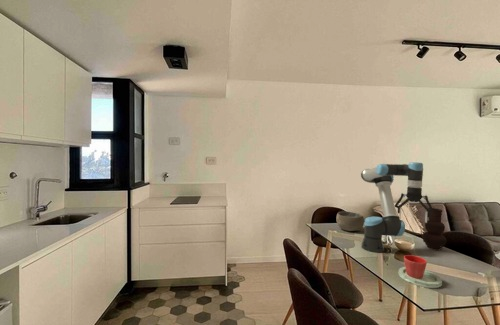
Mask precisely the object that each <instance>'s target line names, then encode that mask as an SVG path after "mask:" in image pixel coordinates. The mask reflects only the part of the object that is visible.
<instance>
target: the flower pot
mask: <svg viewBox="0 0 500 325" xmlns="http://www.w3.org/2000/svg"><path fill="white" fill-rule="evenodd" d="M403 262H404V267H405V269H406V274H407V275H408V276H410V277H412V278H416V279H421V278H423V275H424V272H425V270H426V268H427V264H428V261H427V260H426V259H424V258H422V257H420V256H418V255H417V256H416V255H413V254H411V255H409V254H408V255H407V254H406V255H404V256H403Z"/></svg>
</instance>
